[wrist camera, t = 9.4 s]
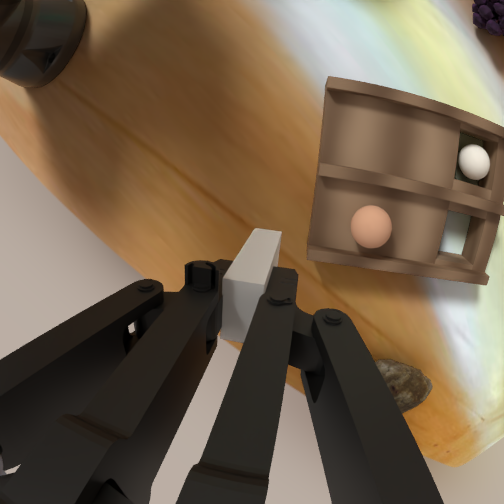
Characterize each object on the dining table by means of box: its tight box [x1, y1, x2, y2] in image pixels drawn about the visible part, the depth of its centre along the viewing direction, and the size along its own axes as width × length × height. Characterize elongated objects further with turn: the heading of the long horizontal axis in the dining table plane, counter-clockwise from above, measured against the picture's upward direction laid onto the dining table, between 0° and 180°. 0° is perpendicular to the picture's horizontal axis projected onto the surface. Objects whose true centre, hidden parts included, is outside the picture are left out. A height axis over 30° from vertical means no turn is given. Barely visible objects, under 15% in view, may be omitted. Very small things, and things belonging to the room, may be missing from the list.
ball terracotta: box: [351, 205, 392, 248], centre depth 24 cm, size 4×4×4 cm
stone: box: [375, 359, 433, 413], centre depth 32 cm, size 13×8×8 cm
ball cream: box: [458, 144, 490, 180], centre depth 22 cm, size 4×4×4 cm
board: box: [307, 76, 504, 285], centre depth 24 cm, size 20×16×4 cm
